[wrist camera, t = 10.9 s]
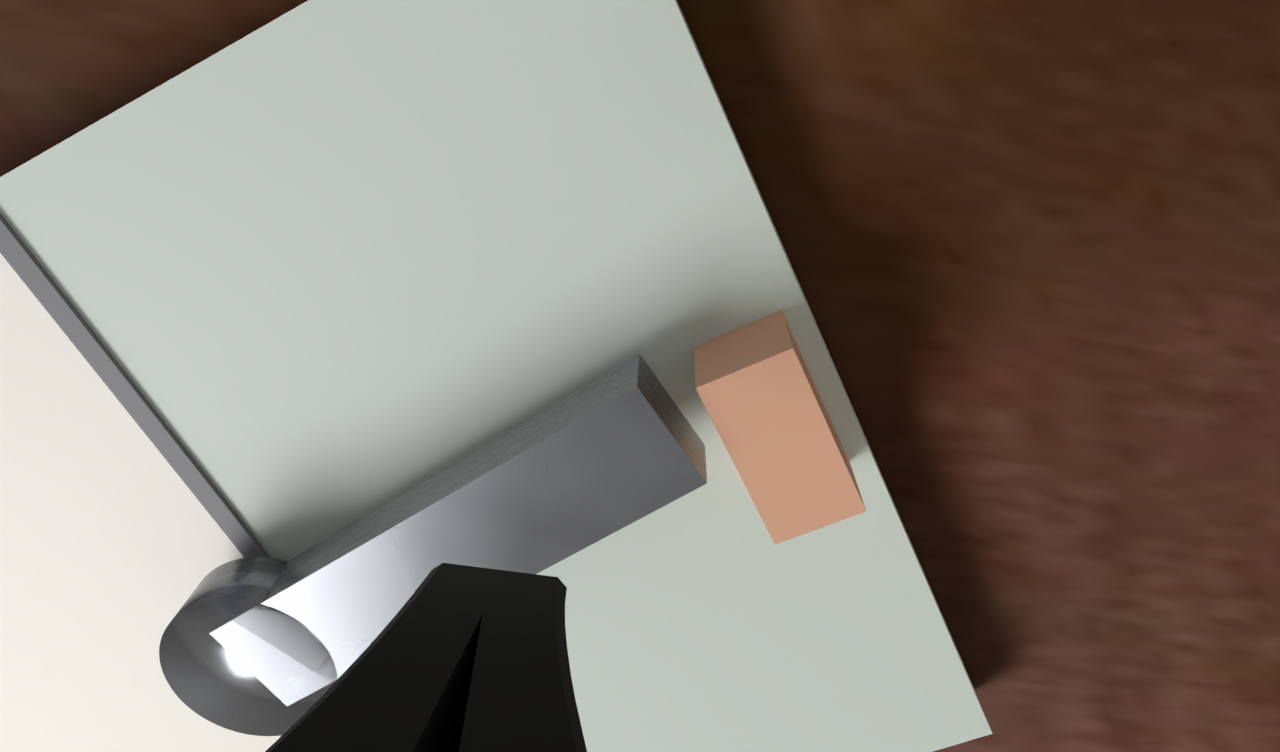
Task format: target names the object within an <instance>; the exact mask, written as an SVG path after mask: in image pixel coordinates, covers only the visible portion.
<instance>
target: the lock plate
mask: <svg viewBox="0 0 1280 752" xmlns="http://www.w3.org/2000/svg"><path fill="white" fill-rule="evenodd" d="M638 354H640V355H641V356H642V358H643V359H644V360H645V362H646V363H647V365H648V366H649V367H650V369H651V370H652V372H653V373H654V374H655V376H656V377H657V379H658V380H659V381H660V383H661V384H662V386H663V387H664V389H665V390H666V391H667V393H668V394H669V396H670V397H671V398H672V400H673V401H674V403H675V404H676V405H677V407H678V408H679V410H680V411H681V412H682V414H683V415H684V417H685V418H686V419H687V421H688V422H689V424H690V425H691V426H692V428H693V429H694V431H695V432H696V433H697V435H698V436H699V438H700V439H701V440H702V442H703V443H704V445H705V454H706V473H707V484H705V485H703V486H701V487H699V488H697V489H695V490H694V491H692V492H690V493H688V494H686V495H684V496H682V497H680V498H678V499H677V500H675V501H673V502H671V503H669V504H667V505H665V506H663V507H662V508H660V509H658V510H656V511H654V512H652V513H650V514H648V515H646V516H645V517H643V518H641V519H639V520H637V521H635V522H633V523H631V524H630V525H628V526H626V527H624V528H622V529H620V530H618V531H616V532H614V533H613V534H611V535H609V536H607V537H605V538H603V539H601V540H599V541H598V542H596V543H594V544H592V545H590V546H588V547H586V548H584V549H582V550H581V551H579V552H577V553H575V554H573V555H571V556H569V557H567V558H566V559H564V560H562V561H560V562H558V563H556V564H554V565H552V566H550V567H549V568H547V569H545V570H543V571H541V572H539V573H537V575H545V576H553V577H558V578H559V579H560V580H561V581H562V583H563V584H564V585H565V586H566V587H567V591H566V600H565V629H566V641H567V650H568V657H569V665H570V672H571V678H572V684H573V690H574V695H575V700H576V705H577V709H578V714H579V718H580V723H581V727H582V732H583V736H584V741H585V745H586V750H587V752H933V751H936V750H939V749H943V748H946V747H949V746H953V745H956V744H960V743H963V742H966V741H970V740H973V739H976V738H980V737H983V736H986V735H990V734H992V732H991V729H990V727H989V724H988V722H987V719H986V717H985V714H984V712H983V709H982V707H981V704H980V702H979V699H978V697H977V694H976V692H975V689H974V687H973V685H972V682H971V680H970V678H969V675H968V673H967V671H966V668H965V666H964V664H963V661H962V659H961V657H960V655H959V652H958V650H957V648H956V645H955V643H954V641H953V638H952V636H951V634H950V631H949V629H948V627H947V624H946V622H945V620H944V617H943V615H942V613H941V611H940V608H939V606H938V604H937V601H936V599H935V597H934V594H933V592H932V590H931V587H930V585H929V583H928V580H927V578H926V576H925V573H924V571H923V569H922V567H921V564H920V562H919V560H918V557H917V555H916V553H915V550H914V548H913V546H912V543H911V541H910V539H909V536H908V534H907V532H906V529H905V527H904V525H903V523H902V520H901V518H900V516H899V513H898V511H897V509H896V506H895V504H894V502H893V499H892V497H891V495H890V492H889V490H888V488H887V485H886V483H885V481H884V479H883V476H882V474H881V472H880V469H879V467H878V465H877V462H876V460H875V458H874V455H873V453H872V451H871V448H870V446H869V444H868V441H867V439H866V437H865V435H864V432H863V430H862V428H861V425H860V423H859V421H858V418H857V416H856V414H855V411H854V409H853V407H852V404H851V402H850V400H849V398H848V395H847V393H846V391H845V388H844V386H843V384H842V381H841V379H840V377H839V374H838V372H837V370H836V367H835V365H834V363H833V360H832V358H831V356H830V354H829V351H828V349H827V347H826V344H825V342H824V340H823V337H822V335H821V333H820V330H819V328H818V326H817V323H816V321H815V319H814V316H813V314H812V312H811V310H810V307H809V305H808V303H807V300H806V298H805V296H804V293H803V291H802V289H801V286H800V284H799V282H798V279H797V277H796V275H795V272H794V270H793V268H792V266H791V263H790V261H789V259H788V256H787V254H786V252H785V249H784V247H783V245H782V242H781V240H780V238H779V235H778V233H777V231H776V228H775V226H774V224H773V222H772V219H771V217H770V215H769V212H768V210H767V208H766V205H765V203H764V201H763V198H762V196H761V194H760V191H759V189H758V187H757V184H756V182H755V180H754V178H753V175H752V173H751V171H750V168H749V166H748V164H747V161H746V159H745V157H744V154H743V152H742V150H741V147H740V145H739V143H738V140H737V138H736V136H735V134H734V131H733V129H732V127H731V124H730V122H729V120H728V117H727V115H726V113H725V110H724V108H723V106H722V103H721V101H720V99H719V96H718V94H717V92H716V90H715V87H714V85H713V83H712V80H711V78H710V76H709V73H708V71H707V69H706V66H705V64H704V62H703V59H702V57H701V55H700V52H699V50H698V48H697V46H696V43H695V41H694V39H693V36H692V34H691V32H690V29H689V27H688V25H687V22H686V20H685V18H684V15H683V13H682V11H681V8H680V6H679V4H678V2H677V0H308V1H306V2H304V3H303V4H301V5H299V6H297V7H296V8H294V9H292V10H290V11H289V12H287V13H285V14H283V15H282V16H280V17H278V18H277V19H275V20H273V21H271V22H270V23H268V24H266V25H264V26H263V27H261V28H259V29H257V30H256V31H254V32H252V33H250V34H249V35H247V36H245V37H243V38H242V39H240V40H238V41H236V42H235V43H233V44H231V45H229V46H228V47H226V48H224V49H223V50H221V51H219V52H217V53H216V54H214V55H212V56H210V57H209V58H207V59H205V60H203V61H202V62H200V63H198V64H196V65H195V66H193V67H191V68H189V69H188V70H186V71H184V72H182V73H181V74H179V75H177V76H176V77H174V78H172V79H170V80H169V81H167V82H165V83H163V84H162V85H160V86H158V87H156V88H155V89H153V90H151V91H149V92H148V93H146V94H144V95H142V96H141V97H139V98H137V99H135V100H134V101H132V102H130V103H128V104H127V105H125V106H123V107H122V108H120V109H118V110H116V111H115V112H113V113H111V114H109V115H108V116H106V117H104V118H102V119H101V120H99V121H97V122H95V123H94V124H92V125H90V126H88V127H87V128H85V129H83V130H81V131H80V132H78V133H76V134H75V135H73V136H71V137H69V138H68V139H66V140H64V141H62V142H61V143H59V144H57V145H55V146H54V147H52V148H50V149H48V150H47V151H45V152H43V153H41V154H40V155H38V156H36V157H34V158H33V159H31V160H29V161H27V162H26V163H24V164H22V165H21V166H19V167H17V168H15V169H14V170H12V171H10V172H8V173H7V174H5V175H3V176H1V177H0V752H265V751H266V750H267V749H268V748H269V747H270V746H271V745H273V744H274V743H275V742H276V741H277V740H278V739H279V738H280V737H281V736H282V735H281V736H256V735H248V734H243V733H239V732H235V731H232V730H229V729H226V728H223V727H221V726H218V725H216V724H214V723H212V722H210V721H208V720H206V719H204V718H203V717H201V716H200V715H198V714H197V713H195V712H194V711H193V710H191V709H190V708H189V707H188V706H187V705H185V704H184V703H183V702H182V701H181V700H180V699H179V698H178V696H177V695H176V694H175V693H174V691H173V690H172V689H171V687H170V686H169V684H168V682H167V681H166V678H165V676H164V674H163V672H162V668H161V665H160V658H159V646H160V642H161V638H162V635H163V633H164V631H165V629H166V628H167V626H168V625H169V623H170V622H171V621H172V619H173V618H174V617H175V615H176V614H177V613H178V611H179V610H180V609H181V607H182V606H183V605H184V603H185V602H186V601H187V599H188V598H189V597H190V595H191V594H192V593H193V591H194V590H195V589H196V588H197V586H198V585H199V584H200V582H201V581H202V580H203V578H204V577H205V576H206V575H207V574H208V573H210V572H211V571H212V570H214V569H215V568H217V567H219V566H220V565H222V564H224V563H227V562H230V561H233V560H236V559H241V558H248V557H269V558H277V559H282V560H286V561H289V560H290V559H292V558H294V557H295V556H297V555H299V554H301V553H302V552H304V551H306V550H307V549H309V548H311V547H312V546H314V545H316V544H318V543H319V542H321V541H323V540H324V539H326V538H328V537H329V536H331V535H333V534H335V533H336V532H338V531H340V530H341V529H343V528H345V527H346V526H348V525H350V524H351V523H353V522H355V521H357V520H358V519H360V518H362V517H363V516H365V515H367V514H368V513H370V512H372V511H374V510H375V509H377V508H379V507H380V506H382V505H384V504H385V503H387V502H389V501H391V500H392V499H394V498H396V497H397V496H399V495H401V494H402V493H404V492H406V491H407V490H409V489H411V488H413V487H414V486H416V485H418V484H419V483H421V482H423V481H424V480H426V479H428V478H430V477H431V476H433V475H435V474H436V473H438V472H440V471H441V470H443V469H445V468H446V467H448V466H450V465H452V464H453V463H455V462H457V461H458V460H460V459H462V458H463V457H465V456H467V455H469V454H470V453H472V452H474V451H475V450H477V449H479V448H480V447H482V446H484V445H486V444H487V443H489V442H491V441H492V440H494V439H496V438H497V437H499V436H501V435H502V434H504V433H506V432H508V431H509V430H511V429H513V428H514V427H516V426H518V425H519V424H521V423H523V422H525V421H526V420H528V419H530V418H531V417H533V416H535V415H536V414H538V413H540V412H542V411H543V410H545V409H547V408H548V407H550V406H552V405H553V404H555V403H557V402H558V401H560V400H562V399H564V398H565V397H567V396H569V395H570V394H572V393H574V392H575V391H577V390H579V389H581V388H582V387H584V386H586V385H587V384H589V383H591V382H592V381H594V380H596V379H597V378H599V377H601V376H603V375H604V374H606V373H608V372H609V371H611V370H613V369H614V368H616V367H618V366H620V365H621V364H623V363H625V362H626V361H628V360H630V359H631V358H633V357H635V356H637V355H638Z"/></svg>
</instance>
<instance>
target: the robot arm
mask: <svg viewBox="0 0 1280 752" xmlns="http://www.w3.org/2000/svg"><path fill="white" fill-rule="evenodd" d="M566 591H567V587H566V586H565V585H564V584H563V583H562V581H561V580H560V579H559V578H558V577H553V576H545V575H537V574H529V573H521V572H513V571H505V570H497V569H489V568H481V567H473V566H465V565H457V564H449V563H441V564H440V565H438V566H437V567H435V568H434V569H432V570H431V571H430V573H429V574H428V575H427V577H426V578H425V579H424V581H423V582H422V583H421V585H420V586H419V587H418V588H417V590H416V591H415V592H414V593H413V595H412V596H411V597H410V598H409V600H408V601H407V602H406V603H405V605H404V606H403V607H402V608H401V609H400V611H399V612H398V613H397V614H396V615H395V617H394V618H393V619H392V620H391V621H390V622H389V624H388V625H387V626H386V627H385V628H384V629H383V630H382V632H381V633H380V634H379V635H378V636H377V637H376V638H375V640H374V641H373V642H372V643H371V644H370V645H369V646H368V648H367V649H366V650H365V651H364V652H363V653H362V654H361V655H360V656H359V657H358V658H357V659H356V660H355V662H354V663H353V664H352V665H351V666H350V667H349V668H348V669H347V670H346V671H345V672H344V673H343V674H342V675H341V676H340V677H339V679H338V680H337V681H336V682H335V683H334V684H333V685H332V686H331V687H330V688H329V689H328V690H327V691H326V692H325V693H324V694H323V696H322V697H321V698H320V699H319V700H318V701H317V702H316V703H315V704H314V705H313V706H312V707H311V708H310V709H309V710H308V711H307V712H306V713H305V714H304V715H303V716H302V717H301V718H300V719H299V720H298V721H297V722H296V723H295V724H293V725H292V726H291V727H290V728H289V729H288V730H287V731H286V732H285V733H284V734H283V735H282V736H281V737H280V738H279V739H278V740H277V741H276V742H275V743H274V744H273V745H271V746H270V747H269V748H268V749H267V750H266V751H265V752H587V750H586V745H585V741H584V736H583V732H582V727H581V723H580V718H579V714H578V709H577V705H576V700H575V695H574V690H573V684H572V678H571V672H570V665H569V657H568V650H567V641H566V629H565V600H566Z"/></svg>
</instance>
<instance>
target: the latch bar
mask: <svg viewBox="0 0 1280 752" xmlns="http://www.w3.org/2000/svg"><path fill="white" fill-rule="evenodd" d="M705 484H707V473H706V454H705V445H704V443H703V442H702V440H701V439H700V438H699V436H698V435H697V433H696V432H695V431H694V429H693V428H692V426H691V425H690V424H689V422H688V421H687V419H686V418H685V417H684V415H683V414H682V412H681V411H680V410H679V408H678V407H677V405H676V404H675V403H674V401H673V400H672V398H671V397H670V396H669V394H668V393H667V391H666V390H665V389H664V387H663V386H662V384H661V383H660V381H659V380H658V379H657V377H656V376H655V374H654V373H653V372H652V370H651V369H650V367H649V366H648V365H647V363H646V362H645V360H644V359H643V358H642V356H641V355H640V354H638V355H637V356H635V357H633V358H631V359H630V360H628V361H626V362H625V363H623V364H621V365H620V366H618V367H616V368H614V369H613V370H611V371H609V372H608V373H606V374H604V375H603V376H601V377H599V378H597V379H596V380H594V381H592V382H591V383H589V384H587V385H586V386H584V387H582V388H581V389H579V390H577V391H575V392H574V393H572V394H570V395H569V396H567V397H565V398H564V399H562V400H560V401H558V402H557V403H555V404H553V405H552V406H550V407H548V408H547V409H545V410H543V411H542V412H540V413H538V414H536V415H535V416H533V417H531V418H530V419H528V420H526V421H525V422H523V423H521V424H519V425H518V426H516V427H514V428H513V429H511V430H509V431H508V432H506V433H504V434H502V435H501V436H499V437H497V438H496V439H494V440H492V441H491V442H489V443H487V444H486V445H484V446H482V447H480V448H479V449H477V450H475V451H474V452H472V453H470V454H469V455H467V456H465V457H463V458H462V459H460V460H458V461H457V462H455V463H453V464H452V465H450V466H448V467H446V468H445V469H443V470H441V471H440V472H438V473H436V474H435V475H433V476H431V477H430V478H428V479H426V480H424V481H423V482H421V483H419V484H418V485H416V486H414V487H413V488H411V489H409V490H407V491H406V492H404V493H402V494H401V495H399V496H397V497H396V498H394V499H392V500H391V501H389V502H387V503H385V504H384V505H382V506H380V507H379V508H377V509H375V510H374V511H372V512H370V513H368V514H367V515H365V516H363V517H362V518H360V519H358V520H357V521H355V522H353V523H351V524H350V525H348V526H346V527H345V528H343V529H341V530H340V531H338V532H336V533H335V534H333V535H331V536H329V537H328V538H326V539H324V540H323V541H321V542H319V543H318V544H316V545H314V546H312V547H311V548H309V549H307V550H306V551H304V552H302V553H301V554H299V555H297V556H295V557H294V558H292V559H290V560H289V561H286V560H282V559H277V558H269V557H248V558H241V559H236V560H233V561H230V562H227V563H224V564H222V565H220V566H219V567H217V568H215V569H214V570H212V571H211V572H210V573H208V574H207V575H206V576H205V577H204V578H203V580H202V581H201V582H200V584H199V585H198V586H197V588H196V589H195V590H194V591H193V593H192V594H191V595H190V597H189V598H188V599H187V601H186V602H185V603H184V605H183V606H182V607H181V609H180V610H179V611H178V613H177V614H176V615H175V617H174V618H173V619H172V621H171V622H170V623H169V625H168V626H167V628H166V629H165V631H164V633H163V635H162V638H161V642H160V646H159V658H160V665H161V668H162V672H163V674H164V676H165V678H166V681H167V682H168V684H169V686H170V687H171V689H172V690H173V691H174V693H175V694H176V695H177V696H178V698H179V699H180V700H181V701H182V702H183V703H184V704H185V705H187V706H188V707H189V708H190V709H191V710H193V711H194V712H195V713H197V714H198V715H200V716H201V717H203V718H204V719H206V720H208V721H210V722H212V723H214V724H216V725H218V726H221V727H223V728H226V729H229V730H232V731H235V732H239V733H243V734H248V735H256V736H281V735H283V734H284V733H285V732H286V731H287V730H288V729H289V728H290V727H291V726H292V725H293V724H295V723H296V722H297V721H298V720H299V719H300V718H301V717H302V716H303V715H304V714H305V713H306V712H307V711H308V710H309V709H310V708H311V707H312V706H313V705H314V704H315V703H316V702H317V701H318V700H319V699H320V698H321V697H322V696H323V694H324V693H325V692H326V691H327V690H328V689H329V688H330V687H331V686H332V685H333V684H334V683H335V682H336V681H337V680H338V679H339V677H340V676H341V675H342V674H343V673H344V672H345V671H346V670H347V669H348V668H349V667H350V666H351V665H352V664H353V663H354V662H355V660H356V659H357V658H358V657H359V656H360V655H361V654H362V653H363V652H364V651H365V650H366V649H367V648H368V646H369V645H370V644H371V643H372V642H373V641H374V640H375V638H376V637H377V636H378V635H379V634H380V633H381V632H382V630H383V629H384V628H385V627H386V626H387V625H388V624H389V622H390V621H391V620H392V619H393V618H394V617H395V615H396V614H397V613H398V612H399V611H400V609H401V608H402V607H403V606H404V605H405V603H406V602H407V601H408V600H409V598H410V597H411V596H412V595H413V593H414V592H415V591H416V590H417V588H418V587H419V586H420V585H421V583H422V582H423V581H424V579H425V578H426V577H427V575H428V574H429V573H430V571H431V570H432V569H434V568H435V567H437V566H438V565H440V564H441V563H449V564H457V565H465V566H473V567H481V568H489V569H497V570H505V571H513V572H521V573H529V574H537V573H539V572H541V571H543V570H545V569H547V568H549V567H550V566H552V565H554V564H556V563H558V562H560V561H562V560H564V559H566V558H567V557H569V556H571V555H573V554H575V553H577V552H579V551H581V550H582V549H584V548H586V547H588V546H590V545H592V544H594V543H596V542H598V541H599V540H601V539H603V538H605V537H607V536H609V535H611V534H613V533H614V532H616V531H618V530H620V529H622V528H624V527H626V526H628V525H630V524H631V523H633V522H635V521H637V520H639V519H641V518H643V517H645V516H646V515H648V514H650V513H652V512H654V511H656V510H658V509H660V508H662V507H663V506H665V505H667V504H669V503H671V502H673V501H675V500H677V499H678V498H680V497H682V496H684V495H686V494H688V493H690V492H692V491H694V490H695V489H697V488H699V487H701V486H703V485H705Z"/></svg>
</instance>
